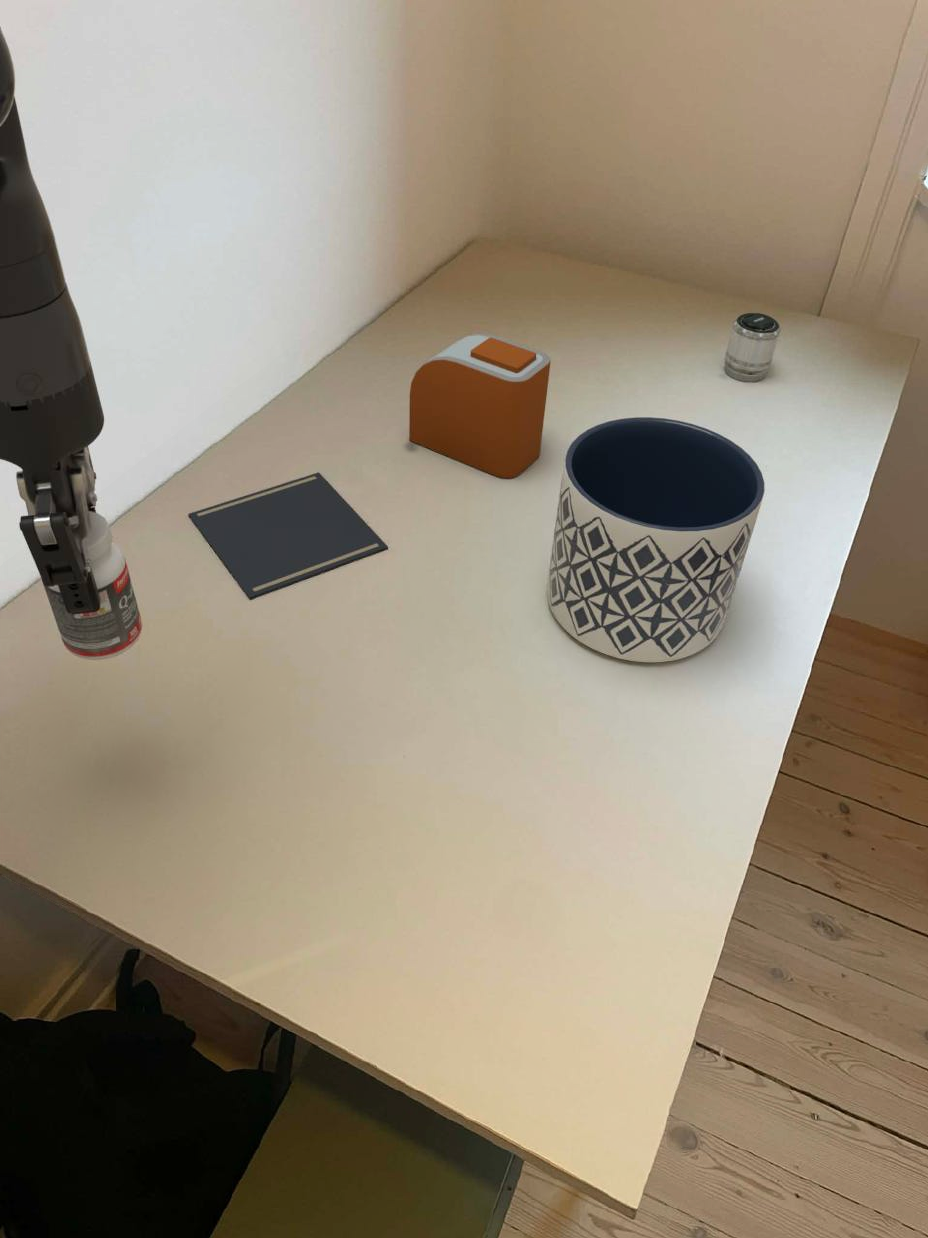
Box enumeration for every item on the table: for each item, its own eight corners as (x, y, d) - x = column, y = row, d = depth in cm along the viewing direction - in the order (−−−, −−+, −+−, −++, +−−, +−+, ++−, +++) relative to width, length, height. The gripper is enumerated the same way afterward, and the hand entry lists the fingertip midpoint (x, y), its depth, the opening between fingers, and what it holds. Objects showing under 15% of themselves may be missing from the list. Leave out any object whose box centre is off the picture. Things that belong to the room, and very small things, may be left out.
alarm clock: (547, 451, 119) (559, 349, 110) (511, 483, 114) (520, 379, 104) (447, 411, 125) (451, 312, 115) (408, 440, 119) (409, 338, 110)
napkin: (249, 599, 97) (249, 597, 97) (188, 515, 106) (187, 513, 106) (388, 548, 104) (388, 546, 104) (319, 474, 113) (318, 471, 113)
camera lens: (712, 369, 136) (725, 316, 131) (740, 356, 139) (753, 304, 134) (749, 388, 133) (764, 334, 127) (776, 374, 136) (791, 321, 130)
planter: (743, 581, 102) (785, 449, 91) (694, 692, 90) (736, 556, 79) (583, 528, 108) (604, 398, 97) (517, 627, 96) (533, 490, 84)
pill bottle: (150, 650, 71) (123, 546, 65) (70, 672, 70) (33, 566, 63) (135, 602, 75) (108, 498, 68) (58, 621, 73) (23, 516, 66)
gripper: (-29, 313, 61) (40, 524, 73) (-67, 435, 51) (20, 658, 63) (95, 305, 63) (144, 514, 74) (81, 423, 53) (140, 643, 64)
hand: (87, 579), depth 69 cm, fingers closed on pill bottle, 5 cm apart
